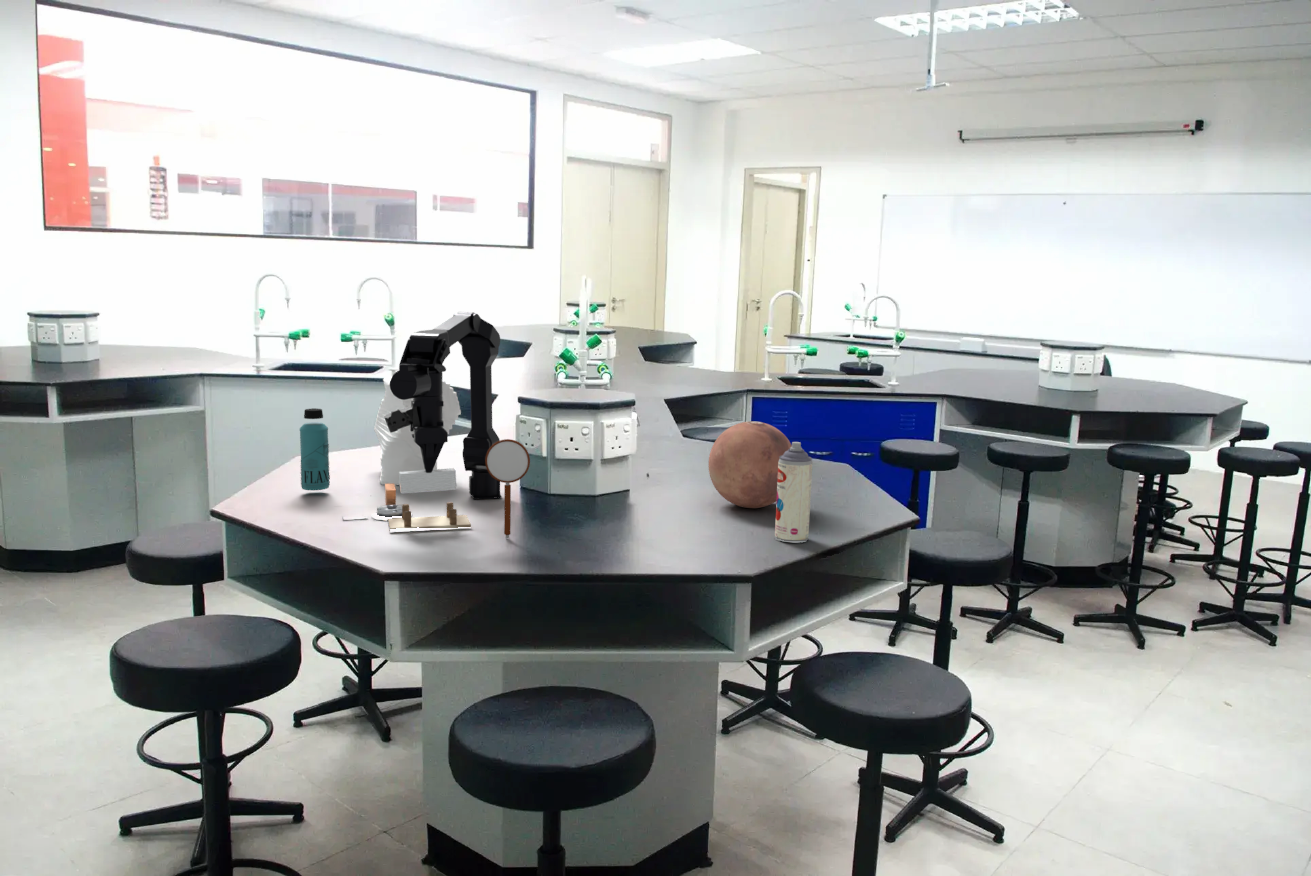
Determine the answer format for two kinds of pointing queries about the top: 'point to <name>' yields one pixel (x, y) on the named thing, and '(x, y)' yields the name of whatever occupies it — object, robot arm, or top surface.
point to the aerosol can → (793, 494)
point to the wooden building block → (390, 503)
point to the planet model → (747, 463)
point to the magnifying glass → (507, 470)
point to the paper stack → (407, 434)
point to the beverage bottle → (314, 452)
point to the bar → (427, 480)
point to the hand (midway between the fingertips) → (428, 471)
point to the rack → (430, 520)
